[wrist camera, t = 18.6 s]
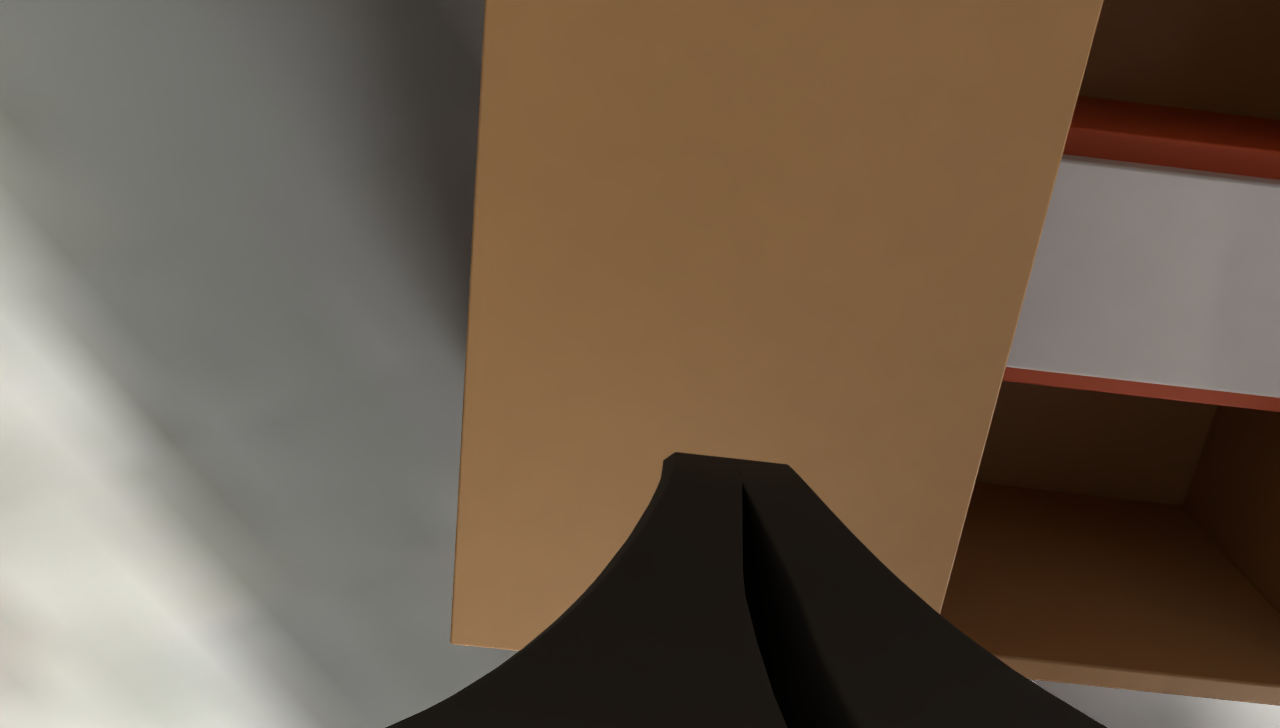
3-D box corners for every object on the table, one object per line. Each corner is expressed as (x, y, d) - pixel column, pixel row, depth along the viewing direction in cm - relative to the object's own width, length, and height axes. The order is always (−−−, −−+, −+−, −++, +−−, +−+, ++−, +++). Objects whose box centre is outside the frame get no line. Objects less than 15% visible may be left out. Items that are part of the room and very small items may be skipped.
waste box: (1186, 513, 23) (1367, 716, 17) (507, 438, 23) (453, 619, 17) (1416, -132, 18) (1782, -162, 12) (557, -241, 18) (505, -326, 12)
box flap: (915, 678, 17) (920, 692, 16) (453, 632, 16) (449, 644, 16) (1158, -244, 12) (1171, -247, 11) (506, -328, 11) (502, -334, 11)
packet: (1220, 324, 21) (1377, 434, 16) (921, 289, 21) (994, 391, 16) (1290, 120, 19) (1485, 179, 15) (968, 82, 19) (1063, 129, 15)
